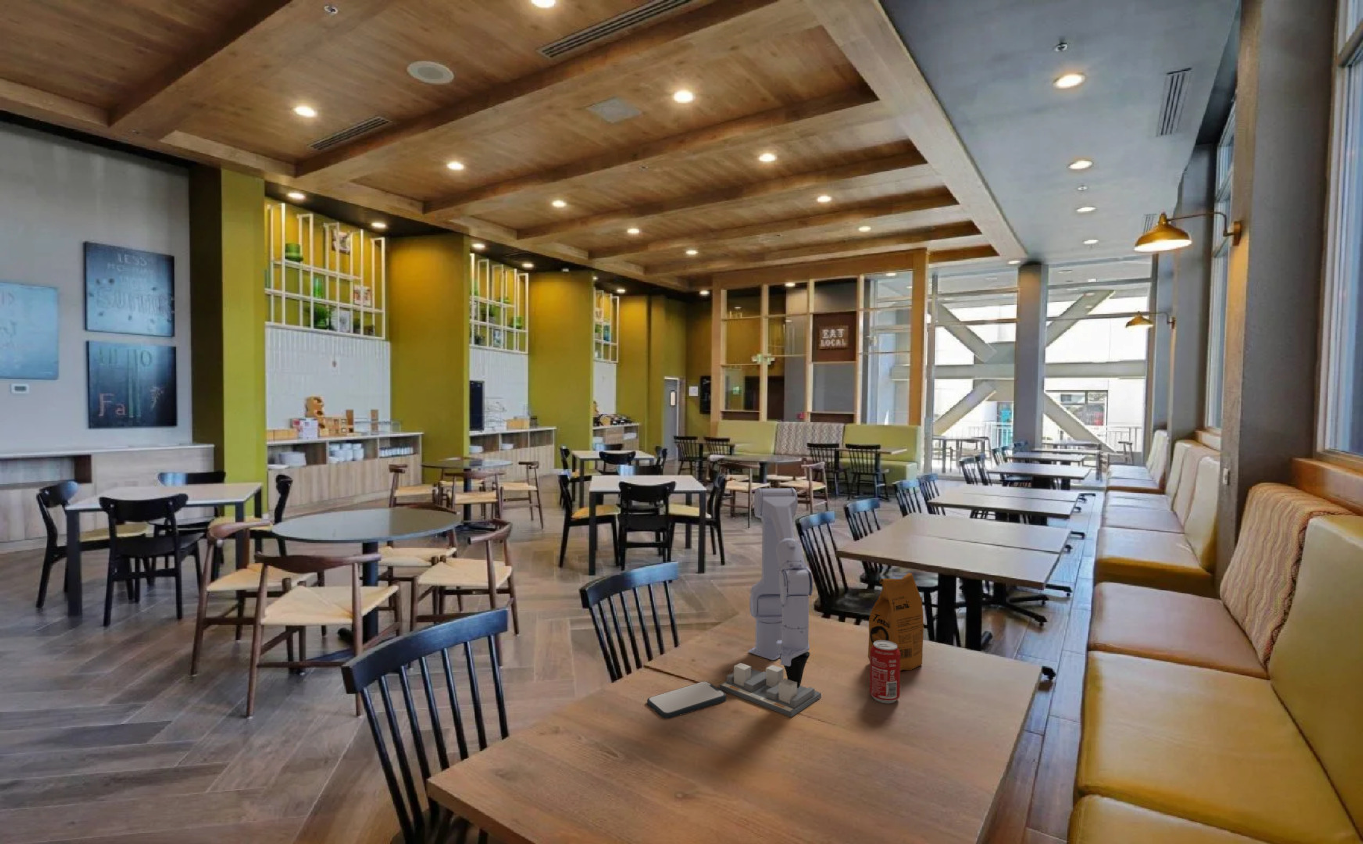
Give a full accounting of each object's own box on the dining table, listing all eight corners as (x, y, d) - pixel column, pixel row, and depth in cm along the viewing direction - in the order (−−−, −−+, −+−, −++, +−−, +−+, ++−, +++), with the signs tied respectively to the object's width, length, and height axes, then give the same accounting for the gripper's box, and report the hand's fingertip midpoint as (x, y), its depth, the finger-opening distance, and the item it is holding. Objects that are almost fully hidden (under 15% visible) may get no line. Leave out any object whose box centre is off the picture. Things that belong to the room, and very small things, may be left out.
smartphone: (665, 722, 132) (728, 702, 141) (665, 715, 132) (728, 694, 141) (644, 705, 140) (706, 686, 148) (644, 698, 140) (706, 679, 148)
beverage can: (895, 692, 145) (896, 639, 144) (902, 706, 138) (903, 650, 138) (867, 691, 145) (867, 638, 145) (872, 704, 139) (873, 649, 139)
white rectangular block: (772, 681, 148) (772, 664, 147) (783, 685, 146) (783, 668, 145) (766, 685, 146) (766, 668, 146) (777, 689, 144) (777, 672, 144)
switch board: (750, 672, 155) (750, 662, 155) (821, 697, 142) (821, 686, 142) (719, 689, 146) (719, 678, 146) (791, 717, 133) (791, 705, 133)
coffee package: (861, 661, 162) (862, 574, 161) (897, 652, 167) (899, 568, 166) (891, 677, 153) (893, 585, 152) (928, 667, 159) (930, 578, 158)
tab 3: (784, 696, 141) (785, 678, 140) (796, 700, 139) (796, 682, 138) (778, 699, 139) (778, 681, 139) (790, 704, 137) (790, 686, 137)
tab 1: (740, 679, 149) (740, 663, 148) (750, 683, 146) (751, 666, 146) (733, 683, 147) (734, 666, 147) (744, 687, 145) (744, 670, 145)
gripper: (787, 611, 148) (786, 670, 149) (766, 632, 135) (766, 696, 136) (817, 616, 145) (816, 675, 146) (799, 638, 132) (799, 703, 133)
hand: (794, 686), depth 140 cm, fingers closed
